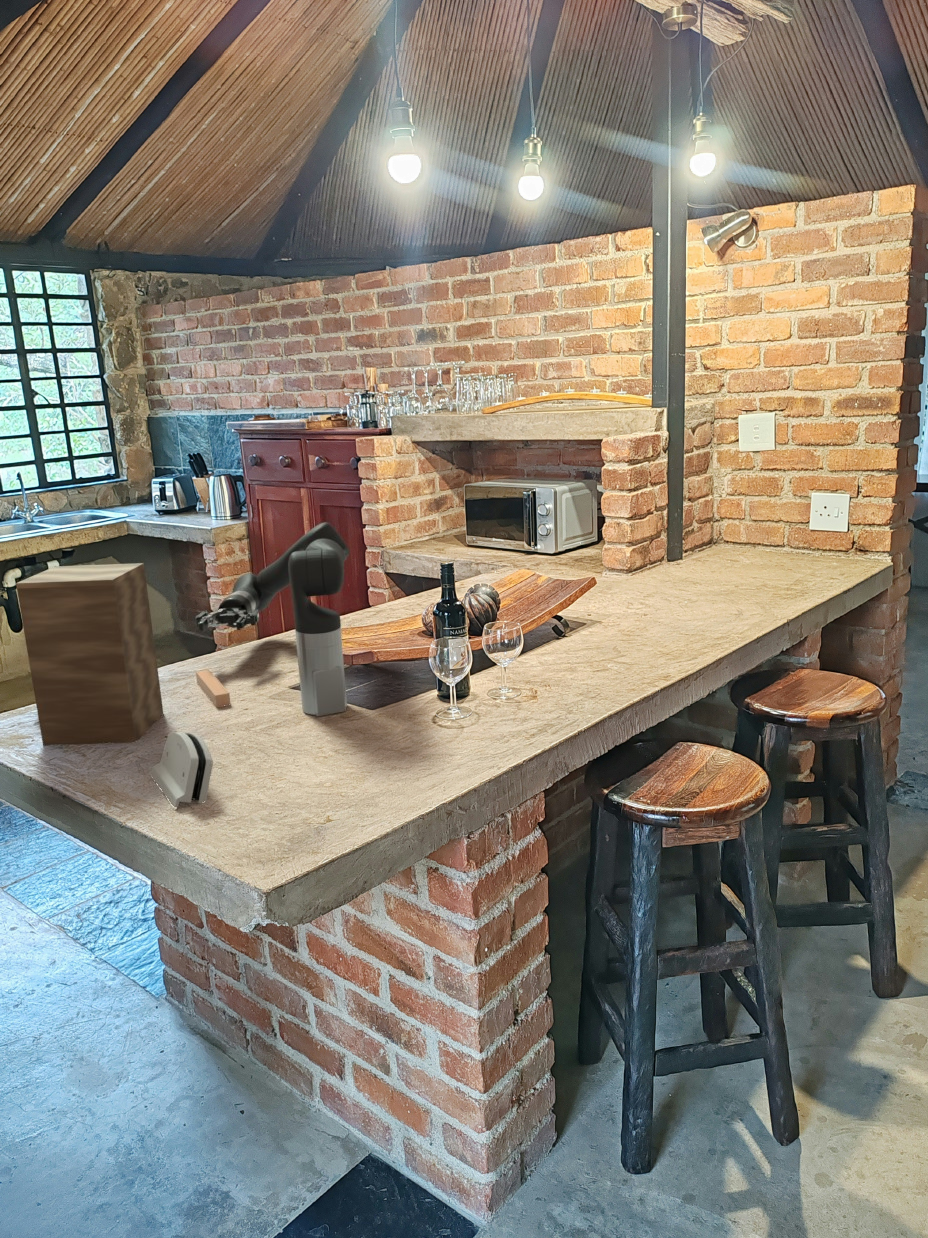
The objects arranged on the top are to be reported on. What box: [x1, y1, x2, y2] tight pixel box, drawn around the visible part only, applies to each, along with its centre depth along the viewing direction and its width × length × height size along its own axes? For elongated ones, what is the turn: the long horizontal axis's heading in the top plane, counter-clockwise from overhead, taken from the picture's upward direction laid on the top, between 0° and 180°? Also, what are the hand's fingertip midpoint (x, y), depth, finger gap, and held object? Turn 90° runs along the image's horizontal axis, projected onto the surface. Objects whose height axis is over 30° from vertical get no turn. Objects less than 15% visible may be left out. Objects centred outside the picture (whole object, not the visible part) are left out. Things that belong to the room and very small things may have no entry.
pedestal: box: [15, 562, 164, 746], centre depth 178 cm, size 16×18×32 cm
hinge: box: [150, 731, 214, 808], centre depth 153 cm, size 17×5×10 cm, turn 32°
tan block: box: [195, 669, 231, 708], centre depth 201 cm, size 20×3×3 cm, turn 27°
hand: (219, 626), depth 211 cm, fingers open, 8 cm apart
